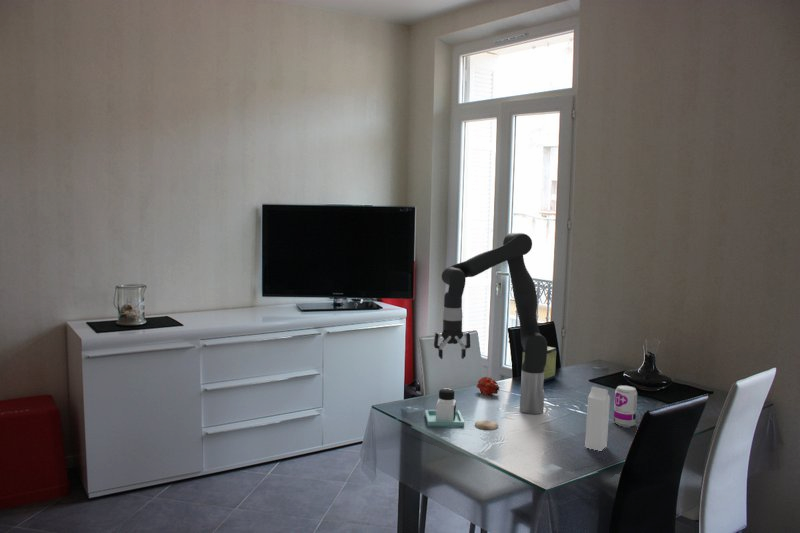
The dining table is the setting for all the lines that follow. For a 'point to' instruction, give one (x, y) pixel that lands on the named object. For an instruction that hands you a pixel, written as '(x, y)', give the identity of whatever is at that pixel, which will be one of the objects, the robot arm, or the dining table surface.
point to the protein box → (548, 363)
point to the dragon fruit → (487, 386)
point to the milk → (597, 419)
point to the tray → (433, 423)
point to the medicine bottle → (446, 406)
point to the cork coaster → (486, 425)
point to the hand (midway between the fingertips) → (451, 358)
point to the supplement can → (625, 405)
